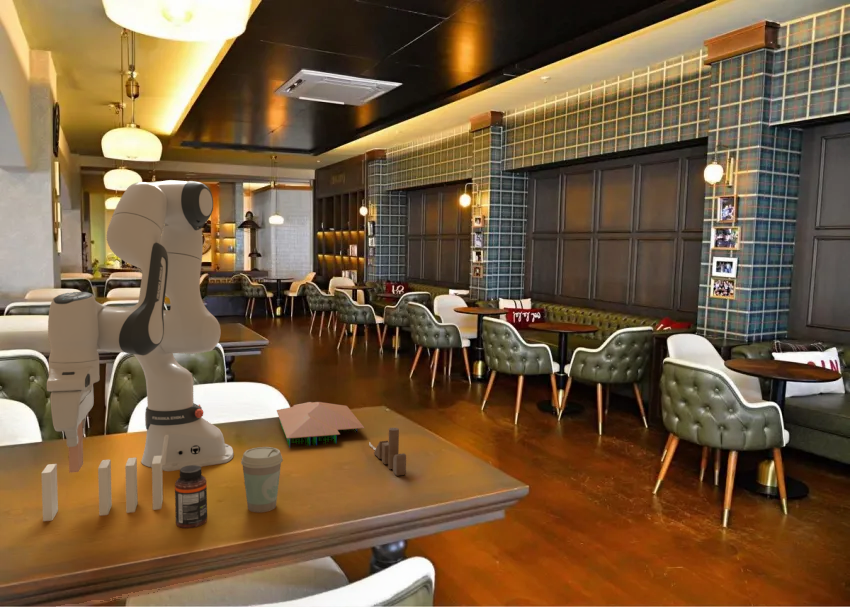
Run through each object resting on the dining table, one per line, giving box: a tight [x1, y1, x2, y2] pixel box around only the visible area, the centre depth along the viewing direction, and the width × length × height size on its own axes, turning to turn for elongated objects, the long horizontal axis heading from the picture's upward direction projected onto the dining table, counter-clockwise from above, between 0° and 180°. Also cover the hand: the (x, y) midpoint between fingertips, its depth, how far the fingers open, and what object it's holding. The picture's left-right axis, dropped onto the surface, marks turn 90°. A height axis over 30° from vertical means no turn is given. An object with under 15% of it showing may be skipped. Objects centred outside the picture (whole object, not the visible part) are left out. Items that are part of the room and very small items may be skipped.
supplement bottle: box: [174, 465, 208, 529], centre depth 124 cm, size 6×6×11 cm
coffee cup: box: [240, 446, 284, 513], centre depth 132 cm, size 8×8×12 cm
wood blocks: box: [368, 427, 407, 477], centre depth 164 cm, size 25×3×10 cm, turn 23°
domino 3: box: [124, 457, 138, 514], centre depth 130 cm, size 2×5×10 cm, turn 19°
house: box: [276, 401, 365, 448], centre depth 191 cm, size 23×33×8 cm
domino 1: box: [68, 422, 84, 474], centre depth 126 cm, size 2×5×10 cm, turn 19°
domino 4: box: [151, 455, 164, 511], centre depth 132 cm, size 2×5×10 cm, turn 19°
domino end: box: [40, 463, 59, 522], centre depth 125 cm, size 2×5×10 cm, turn 19°
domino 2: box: [97, 459, 113, 516], centre depth 129 cm, size 2×5×10 cm, turn 19°
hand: (76, 440), depth 126 cm, fingers closed on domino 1, 5 cm apart
